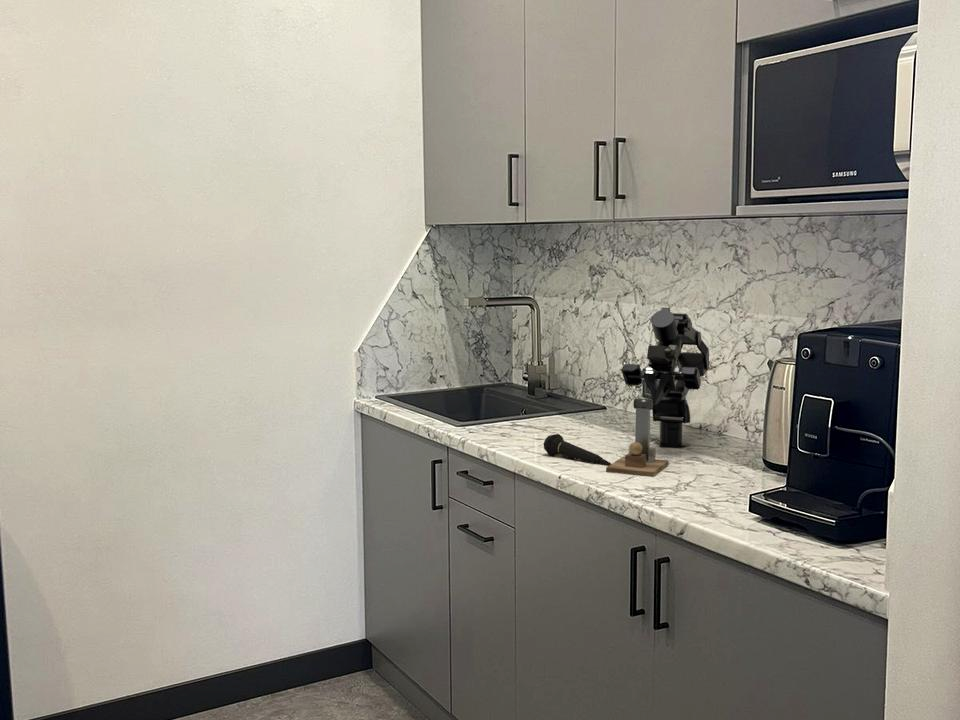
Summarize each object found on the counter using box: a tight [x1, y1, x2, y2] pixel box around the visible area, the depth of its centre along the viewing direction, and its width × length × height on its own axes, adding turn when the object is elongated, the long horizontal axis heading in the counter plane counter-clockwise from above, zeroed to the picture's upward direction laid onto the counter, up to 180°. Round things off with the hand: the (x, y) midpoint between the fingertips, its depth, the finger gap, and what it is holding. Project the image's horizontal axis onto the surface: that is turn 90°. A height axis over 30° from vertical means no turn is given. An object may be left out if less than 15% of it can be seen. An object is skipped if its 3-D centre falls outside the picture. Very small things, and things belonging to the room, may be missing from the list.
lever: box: [633, 398, 653, 460], centre depth 227 cm, size 2×4×14 cm, turn 64°
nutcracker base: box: [605, 441, 670, 478], centre depth 224 cm, size 13×11×6 cm
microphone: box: [543, 433, 612, 467], centre depth 234 cm, size 6×6×20 cm
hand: (653, 403), depth 235 cm, fingers closed
